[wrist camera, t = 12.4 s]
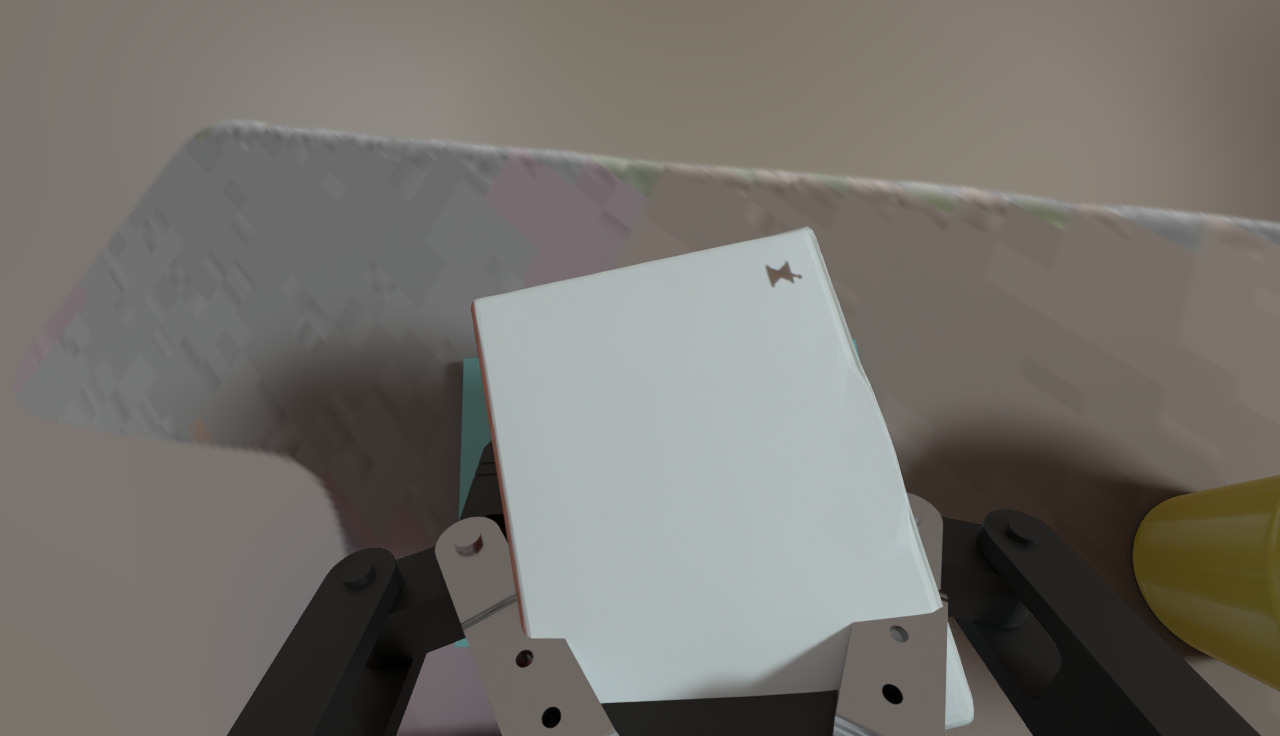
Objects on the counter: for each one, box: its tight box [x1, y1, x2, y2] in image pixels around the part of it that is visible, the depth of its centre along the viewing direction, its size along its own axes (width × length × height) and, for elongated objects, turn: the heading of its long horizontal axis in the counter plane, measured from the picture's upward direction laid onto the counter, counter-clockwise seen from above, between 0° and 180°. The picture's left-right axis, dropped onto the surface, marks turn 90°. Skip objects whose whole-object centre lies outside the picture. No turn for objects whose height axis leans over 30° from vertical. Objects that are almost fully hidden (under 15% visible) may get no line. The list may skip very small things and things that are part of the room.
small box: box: [471, 227, 974, 730], centre depth 14 cm, size 8×6×13 cm
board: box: [455, 339, 858, 647], centre depth 22 cm, size 18×12×1 cm, turn 93°
